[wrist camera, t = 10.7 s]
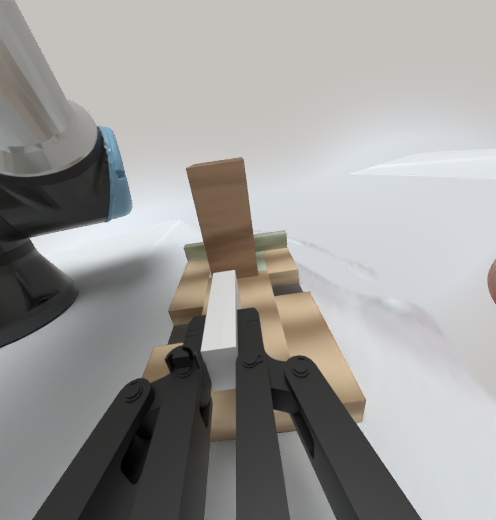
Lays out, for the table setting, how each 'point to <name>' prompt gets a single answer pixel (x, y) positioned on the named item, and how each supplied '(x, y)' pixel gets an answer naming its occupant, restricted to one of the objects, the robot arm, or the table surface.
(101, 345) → the table surface
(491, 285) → the decorative fruit
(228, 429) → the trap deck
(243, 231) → the walnut block
